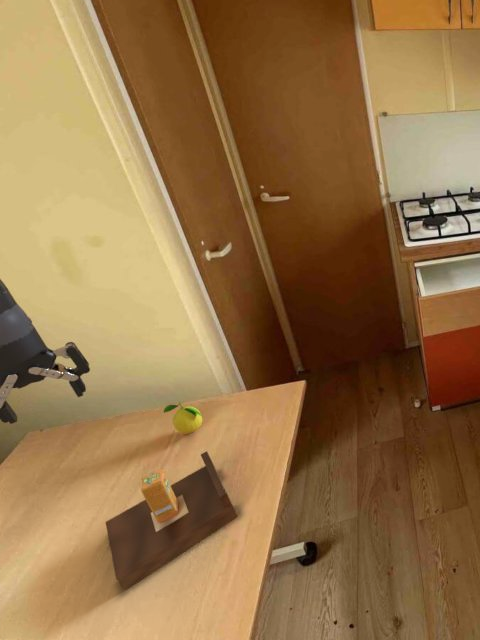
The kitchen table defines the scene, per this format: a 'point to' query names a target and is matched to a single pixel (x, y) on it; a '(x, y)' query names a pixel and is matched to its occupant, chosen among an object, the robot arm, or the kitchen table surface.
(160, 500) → the supplement box
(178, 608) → the kitchen table surface
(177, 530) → the shelf
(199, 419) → the lemon
